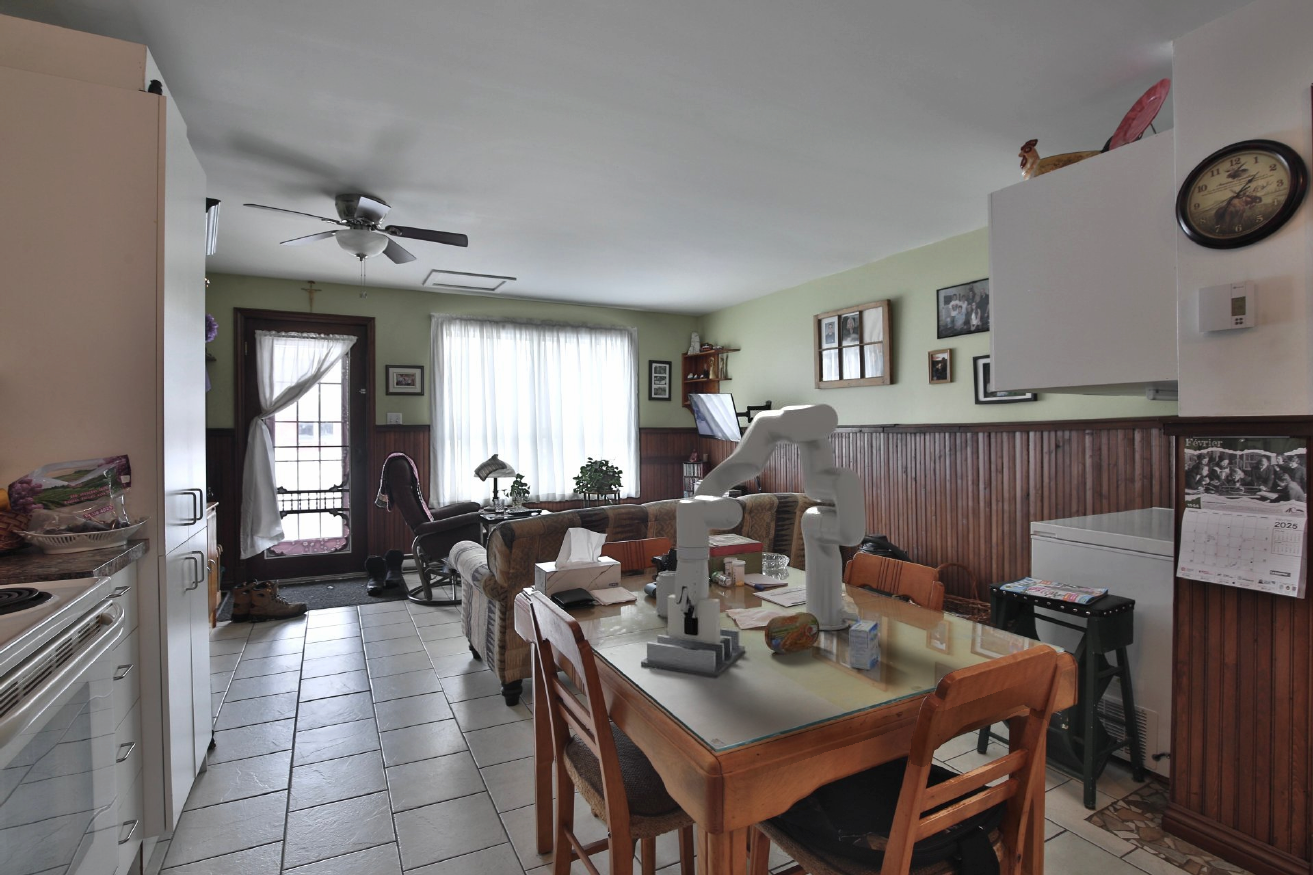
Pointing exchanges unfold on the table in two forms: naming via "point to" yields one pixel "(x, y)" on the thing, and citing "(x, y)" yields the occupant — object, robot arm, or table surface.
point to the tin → (792, 632)
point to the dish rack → (694, 654)
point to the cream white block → (706, 620)
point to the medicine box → (863, 644)
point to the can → (664, 590)
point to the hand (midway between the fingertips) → (693, 631)
